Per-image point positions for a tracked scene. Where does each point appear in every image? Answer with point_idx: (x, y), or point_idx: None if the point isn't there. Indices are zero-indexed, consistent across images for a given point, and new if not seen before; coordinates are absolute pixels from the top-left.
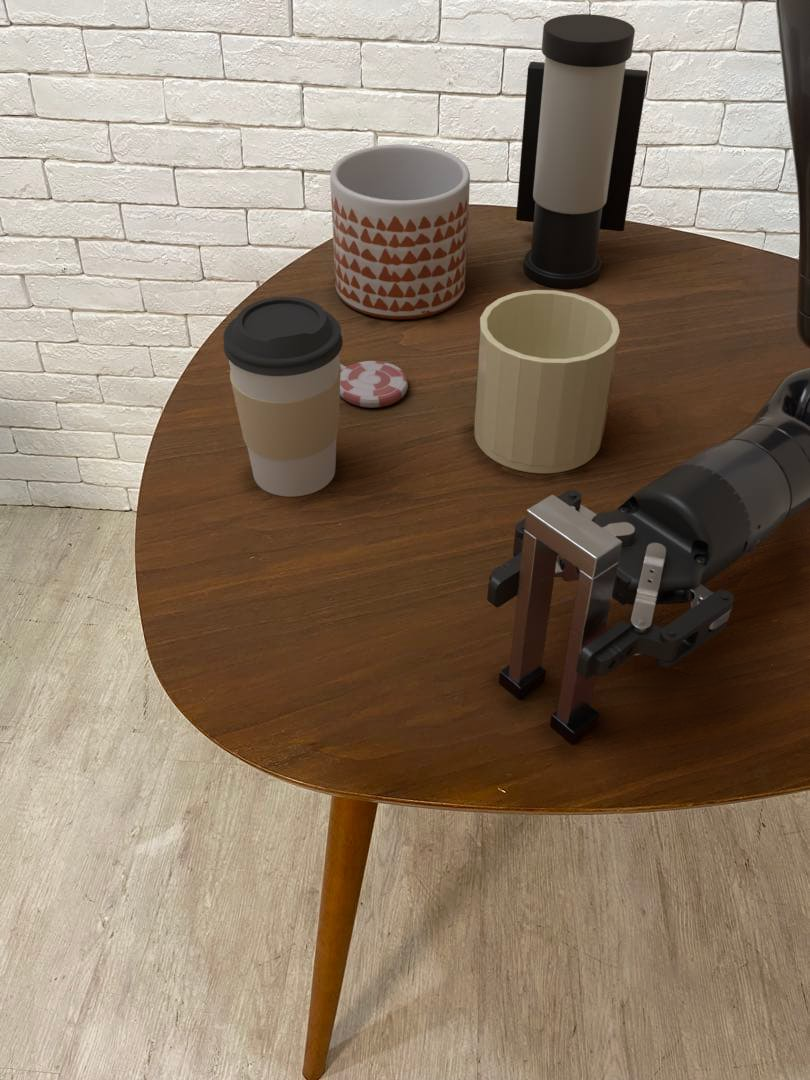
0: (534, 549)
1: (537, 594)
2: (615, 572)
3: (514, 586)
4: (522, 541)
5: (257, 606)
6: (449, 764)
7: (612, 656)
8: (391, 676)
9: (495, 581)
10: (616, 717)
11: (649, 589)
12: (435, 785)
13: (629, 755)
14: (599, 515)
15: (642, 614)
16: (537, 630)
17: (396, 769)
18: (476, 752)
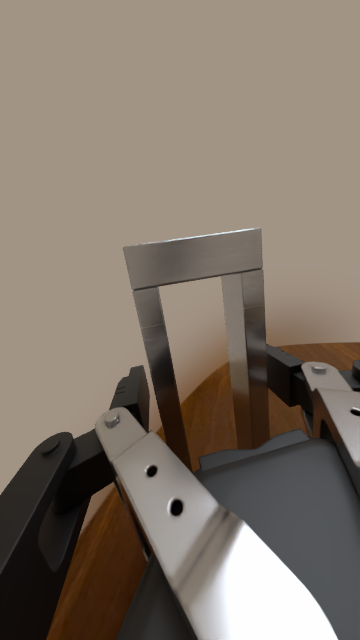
0: (222, 290)
1: (234, 367)
2: (136, 309)
3: None
4: (345, 373)
5: (338, 366)
6: (200, 409)
7: (117, 385)
8: (276, 404)
9: None
10: None
11: (134, 453)
12: (191, 400)
13: (124, 558)
14: None
15: (117, 427)
16: (243, 426)
17: (208, 390)
18: (201, 424)
